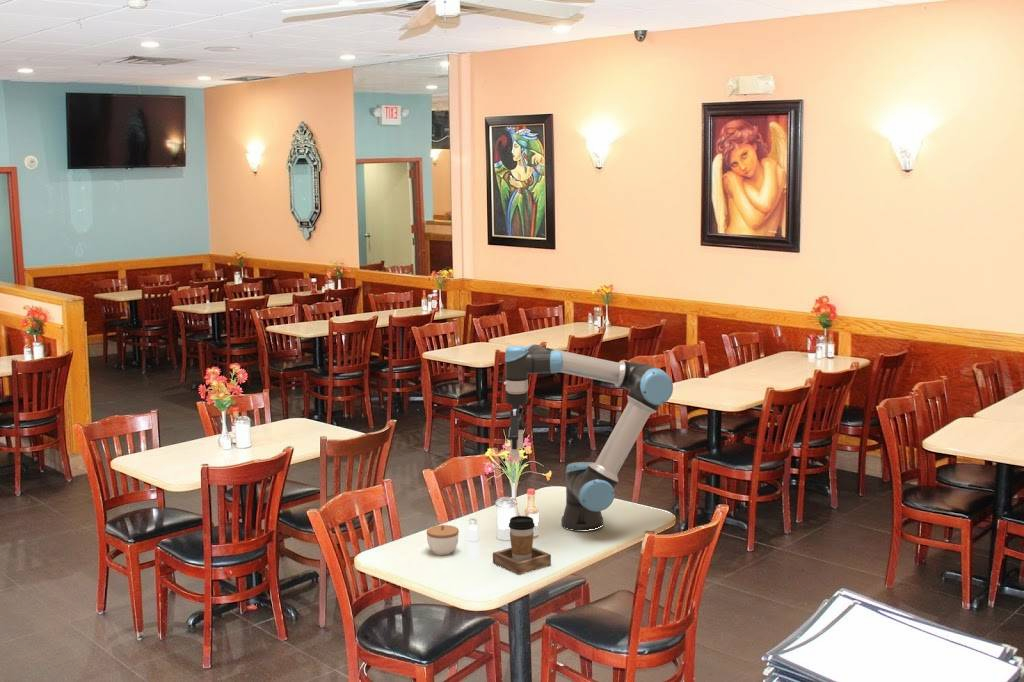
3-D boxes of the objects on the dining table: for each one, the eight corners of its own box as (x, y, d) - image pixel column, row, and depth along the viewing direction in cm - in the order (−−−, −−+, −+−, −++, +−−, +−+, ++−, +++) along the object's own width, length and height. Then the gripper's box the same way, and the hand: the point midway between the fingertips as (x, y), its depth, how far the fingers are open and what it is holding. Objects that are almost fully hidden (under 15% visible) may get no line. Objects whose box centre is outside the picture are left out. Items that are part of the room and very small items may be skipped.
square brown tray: (524, 554, 350) (524, 543, 350) (550, 565, 340) (550, 554, 339) (492, 563, 342) (492, 552, 342) (518, 574, 332) (518, 563, 331)
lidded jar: (457, 557, 348) (456, 530, 346) (425, 557, 348) (424, 530, 347) (460, 546, 358) (460, 520, 357) (429, 546, 359) (428, 520, 358)
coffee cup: (513, 568, 336) (513, 523, 333) (505, 559, 344) (505, 515, 341) (538, 565, 338) (538, 520, 336) (530, 557, 346) (529, 513, 344)
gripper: (509, 384, 367) (510, 444, 370) (500, 398, 342) (501, 462, 345) (531, 385, 366) (531, 444, 369) (523, 399, 341) (524, 462, 344)
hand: (517, 453), depth 357 cm, fingers open, 13 cm apart
